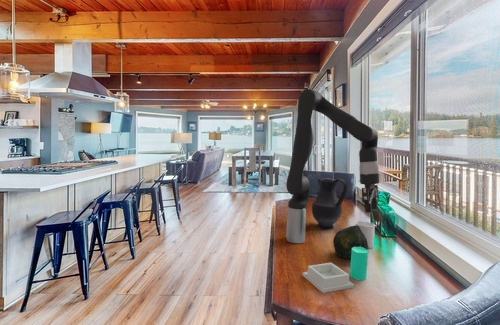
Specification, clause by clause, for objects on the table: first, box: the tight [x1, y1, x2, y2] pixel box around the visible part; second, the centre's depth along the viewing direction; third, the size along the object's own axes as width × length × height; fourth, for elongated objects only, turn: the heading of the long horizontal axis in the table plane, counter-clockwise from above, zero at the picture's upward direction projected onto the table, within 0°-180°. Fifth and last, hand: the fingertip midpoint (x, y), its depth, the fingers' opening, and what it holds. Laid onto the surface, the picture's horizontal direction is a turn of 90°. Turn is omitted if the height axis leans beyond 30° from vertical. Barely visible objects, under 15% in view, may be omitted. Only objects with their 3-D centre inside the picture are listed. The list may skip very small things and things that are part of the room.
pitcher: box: [311, 178, 348, 230], centre depth 170 cm, size 17×21×30 cm
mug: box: [354, 220, 376, 249], centre depth 145 cm, size 12×9×11 cm
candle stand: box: [302, 262, 355, 294], centre depth 106 cm, size 13×13×4 cm
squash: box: [332, 225, 369, 259], centre depth 130 cm, size 14×15×15 cm
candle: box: [349, 247, 369, 281], centre depth 111 cm, size 6×6×12 cm
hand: (371, 210), depth 123 cm, fingers open, 8 cm apart
